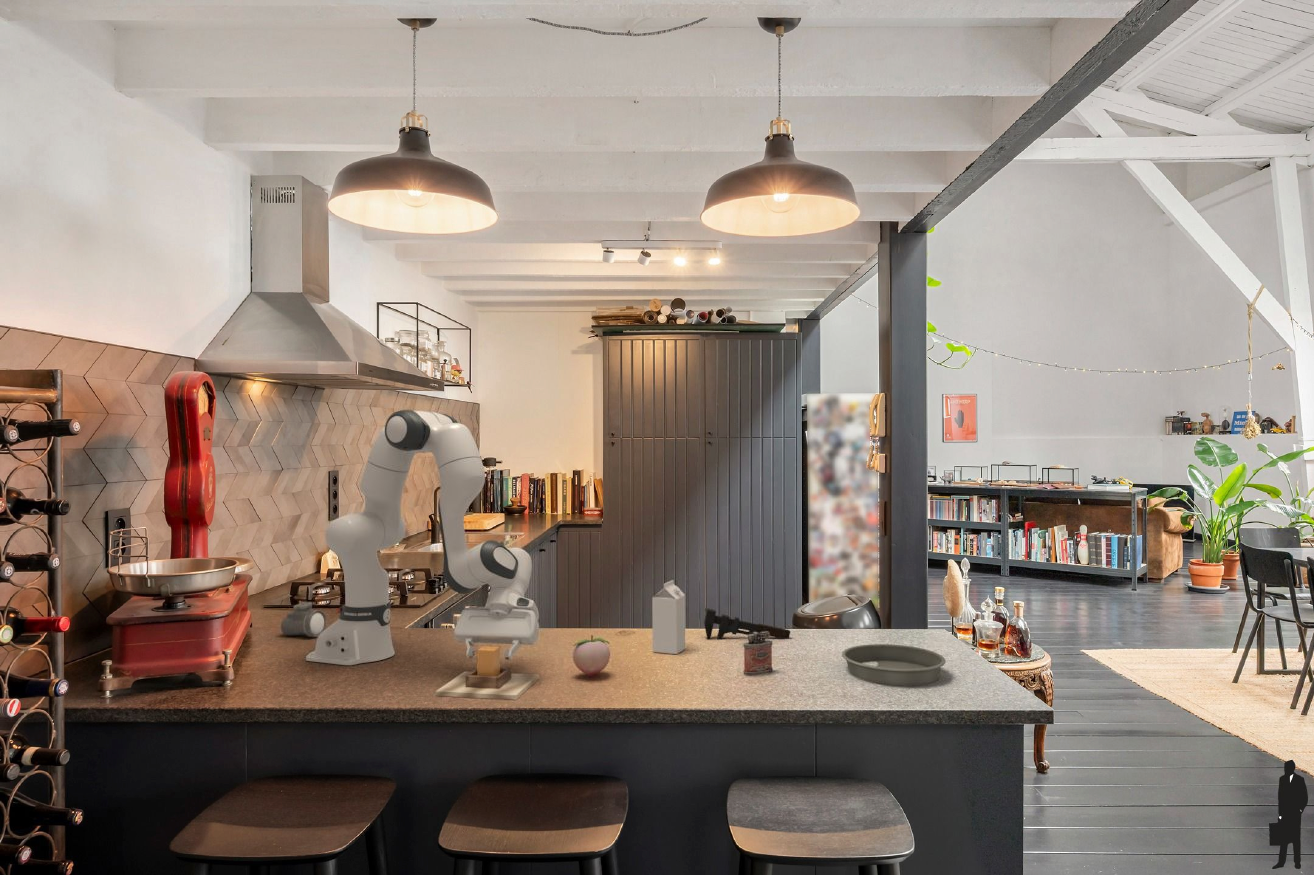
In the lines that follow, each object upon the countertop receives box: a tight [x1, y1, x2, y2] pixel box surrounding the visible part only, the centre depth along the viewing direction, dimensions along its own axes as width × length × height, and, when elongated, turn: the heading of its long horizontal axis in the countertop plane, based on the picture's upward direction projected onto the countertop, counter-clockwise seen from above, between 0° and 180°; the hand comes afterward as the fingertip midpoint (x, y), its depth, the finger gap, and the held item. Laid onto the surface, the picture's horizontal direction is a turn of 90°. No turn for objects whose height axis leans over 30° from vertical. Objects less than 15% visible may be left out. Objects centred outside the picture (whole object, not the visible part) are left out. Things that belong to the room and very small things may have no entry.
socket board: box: [435, 666, 540, 701], centre depth 179 cm, size 19×16×4 cm
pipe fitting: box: [280, 601, 328, 638], centre depth 231 cm, size 12×8×10 cm
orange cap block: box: [476, 645, 501, 677], centre depth 179 cm, size 4×4×8 cm
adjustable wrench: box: [703, 608, 791, 641], centre depth 225 cm, size 8×3×25 cm
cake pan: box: [841, 643, 946, 687], centre depth 190 cm, size 25×25×4 cm
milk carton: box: [651, 579, 686, 655], centre depth 212 cm, size 7×7×19 cm
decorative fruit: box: [572, 634, 611, 677], centre depth 187 cm, size 9×8×10 cm
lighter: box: [742, 631, 774, 677], centre depth 190 cm, size 8×3×10 cm, turn 117°
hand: (488, 657), depth 179 cm, fingers open, 8 cm apart
